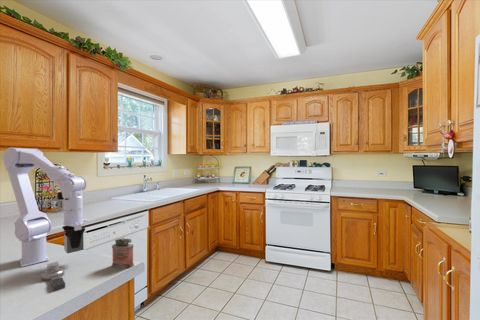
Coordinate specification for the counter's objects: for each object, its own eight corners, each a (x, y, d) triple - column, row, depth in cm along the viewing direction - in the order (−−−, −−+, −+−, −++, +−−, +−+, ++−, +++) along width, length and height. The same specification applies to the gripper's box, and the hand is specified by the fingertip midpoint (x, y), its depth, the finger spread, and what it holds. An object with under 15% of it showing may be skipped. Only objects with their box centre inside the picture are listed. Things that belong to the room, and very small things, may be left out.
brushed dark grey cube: (64, 250, 89) (64, 233, 89) (80, 246, 92) (80, 230, 92) (67, 253, 85) (66, 236, 85) (83, 249, 89) (83, 233, 89)
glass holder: (73, 210, 190) (73, 191, 190) (55, 214, 176) (55, 194, 176) (64, 210, 192) (64, 191, 192) (46, 214, 178) (46, 193, 178)
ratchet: (40, 276, 80) (40, 264, 80) (62, 270, 84) (62, 258, 84) (46, 293, 69) (46, 279, 69) (71, 285, 73) (71, 272, 73)
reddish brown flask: (109, 267, 86) (109, 239, 86) (116, 263, 89) (115, 236, 89) (130, 268, 84) (129, 240, 84) (135, 264, 88) (135, 237, 88)
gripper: (91, 210, 87) (91, 247, 87) (81, 205, 97) (81, 238, 97) (67, 213, 82) (67, 253, 82) (59, 208, 92) (60, 243, 92)
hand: (73, 245), depth 89 cm, fingers closed on brushed dark grey cube, 5 cm apart
